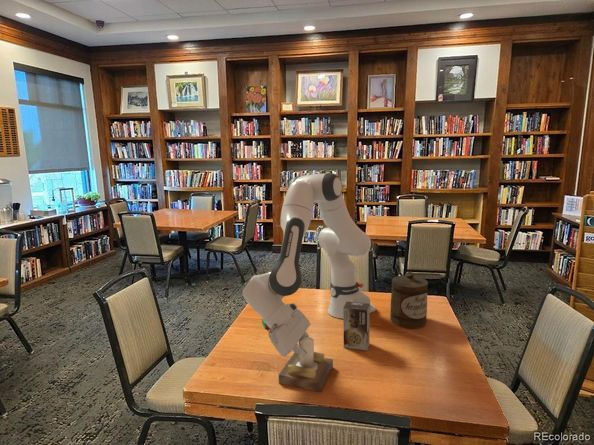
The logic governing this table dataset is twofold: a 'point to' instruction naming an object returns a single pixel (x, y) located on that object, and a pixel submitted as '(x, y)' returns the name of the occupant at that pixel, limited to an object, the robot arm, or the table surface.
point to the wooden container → (409, 301)
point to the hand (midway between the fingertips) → (308, 350)
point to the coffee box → (356, 325)
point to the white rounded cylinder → (308, 345)
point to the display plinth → (306, 372)
